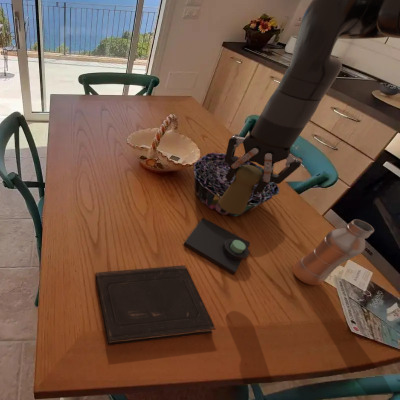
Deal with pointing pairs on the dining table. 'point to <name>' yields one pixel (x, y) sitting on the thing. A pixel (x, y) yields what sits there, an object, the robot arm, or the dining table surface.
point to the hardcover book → (151, 305)
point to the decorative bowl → (224, 183)
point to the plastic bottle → (332, 252)
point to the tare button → (237, 246)
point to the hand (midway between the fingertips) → (242, 185)
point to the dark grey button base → (216, 245)
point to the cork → (240, 189)
